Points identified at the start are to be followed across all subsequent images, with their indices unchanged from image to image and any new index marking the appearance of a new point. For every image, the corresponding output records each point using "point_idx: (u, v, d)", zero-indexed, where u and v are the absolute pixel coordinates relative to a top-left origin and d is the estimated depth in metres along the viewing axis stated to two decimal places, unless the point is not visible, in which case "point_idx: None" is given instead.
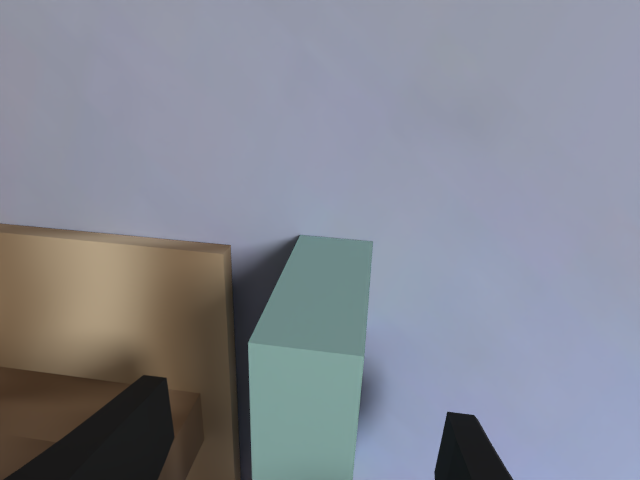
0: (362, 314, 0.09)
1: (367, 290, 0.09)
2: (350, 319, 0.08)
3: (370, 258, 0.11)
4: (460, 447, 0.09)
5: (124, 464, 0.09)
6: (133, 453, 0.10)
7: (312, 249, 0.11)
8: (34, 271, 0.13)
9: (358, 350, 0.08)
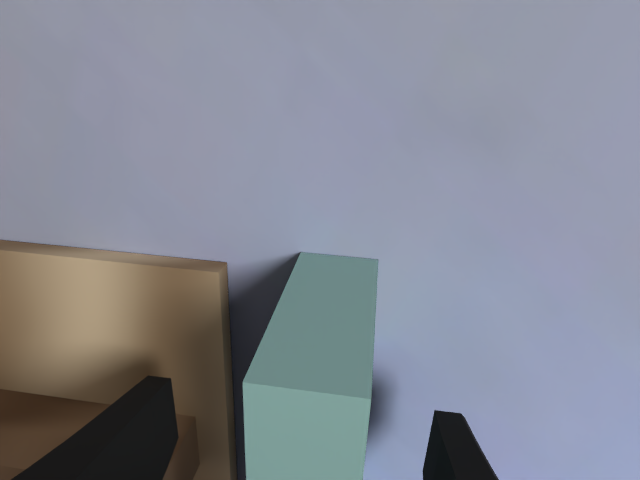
0: (368, 346, 0.08)
1: (373, 317, 0.09)
2: (355, 352, 0.08)
3: (376, 279, 0.10)
4: (445, 445, 0.09)
5: (129, 464, 0.09)
6: (138, 454, 0.10)
7: (313, 269, 0.11)
8: (20, 289, 0.12)
9: (364, 392, 0.07)
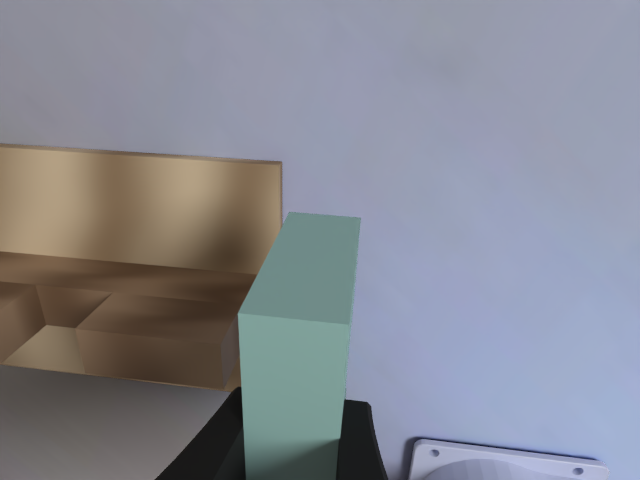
0: (348, 286, 0.09)
1: (354, 263, 0.10)
2: (336, 290, 0.09)
3: (357, 233, 0.11)
4: None
5: (235, 479, 0.09)
6: (240, 468, 0.09)
7: (300, 225, 0.12)
8: (141, 183, 0.18)
9: (343, 319, 0.08)
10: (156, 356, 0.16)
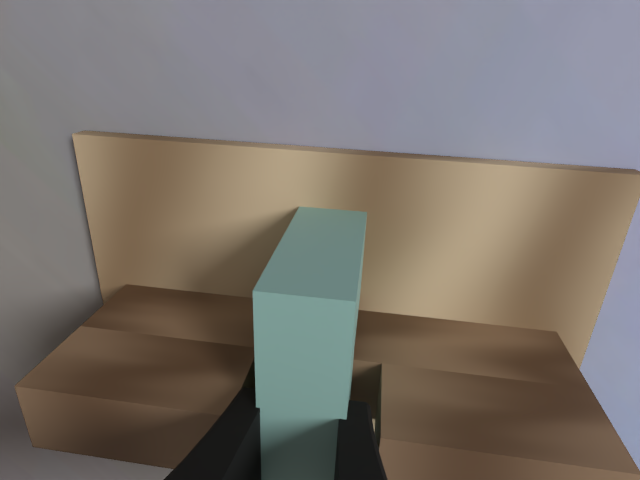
0: (355, 269, 0.10)
1: (360, 251, 0.10)
2: (344, 273, 0.09)
3: (364, 225, 0.12)
4: (339, 432, 0.09)
5: None
6: (247, 469, 0.09)
7: (310, 218, 0.12)
8: (411, 199, 0.13)
9: (350, 297, 0.08)
10: None
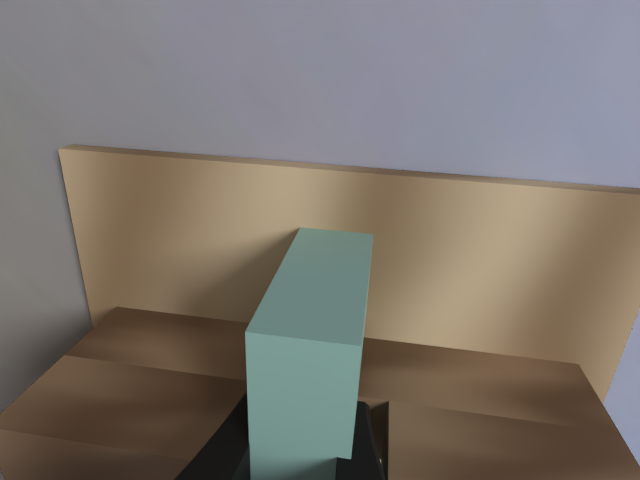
0: (360, 304, 0.09)
1: (366, 281, 0.09)
2: (348, 309, 0.08)
3: (370, 250, 0.11)
4: None
5: None
6: None
7: (312, 241, 0.11)
8: (421, 221, 0.12)
9: (355, 340, 0.07)
10: None
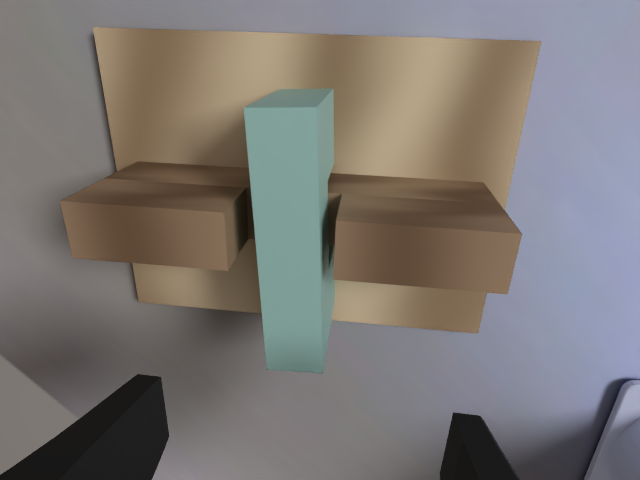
0: (319, 101, 0.13)
1: (324, 97, 0.14)
2: (310, 102, 0.13)
3: (329, 91, 0.15)
4: (467, 448, 0.09)
5: (117, 463, 0.09)
6: (127, 452, 0.10)
7: (288, 91, 0.16)
8: (364, 71, 0.16)
9: (313, 106, 0.12)
10: (432, 253, 0.13)
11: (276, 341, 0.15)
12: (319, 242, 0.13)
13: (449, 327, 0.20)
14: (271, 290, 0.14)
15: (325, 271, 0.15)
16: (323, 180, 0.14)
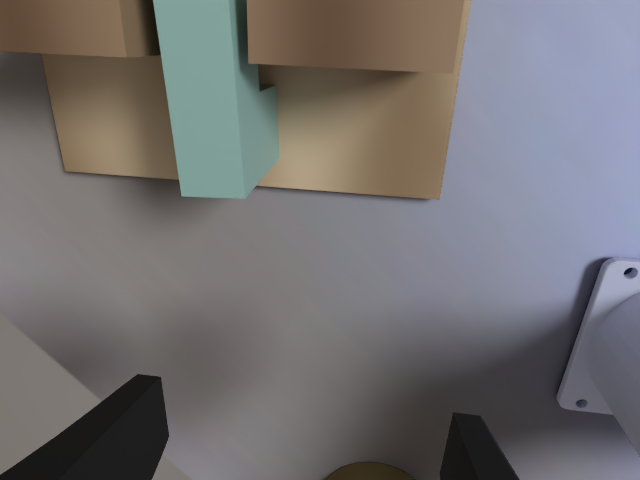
0: None
1: None
2: None
3: None
4: (467, 448, 0.09)
5: (117, 462, 0.09)
6: (126, 452, 0.10)
7: None
8: None
9: None
10: (362, 18, 0.11)
11: (189, 156, 0.13)
12: (229, 10, 0.11)
13: (407, 193, 0.18)
14: (178, 83, 0.12)
15: (249, 78, 0.13)
16: None
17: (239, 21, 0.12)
